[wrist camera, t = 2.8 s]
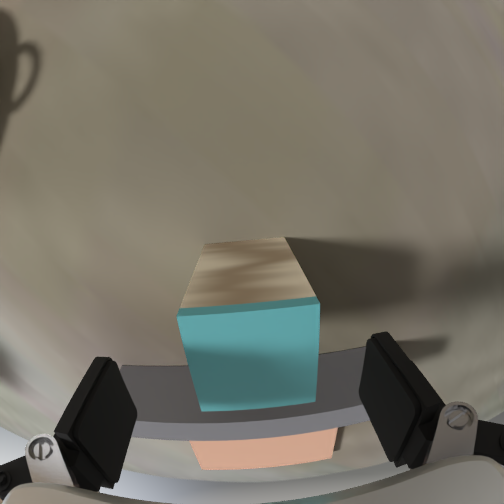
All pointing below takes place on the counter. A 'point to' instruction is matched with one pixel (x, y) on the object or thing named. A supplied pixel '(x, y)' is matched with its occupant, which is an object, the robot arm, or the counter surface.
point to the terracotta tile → (265, 451)
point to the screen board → (243, 421)
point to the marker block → (250, 327)
